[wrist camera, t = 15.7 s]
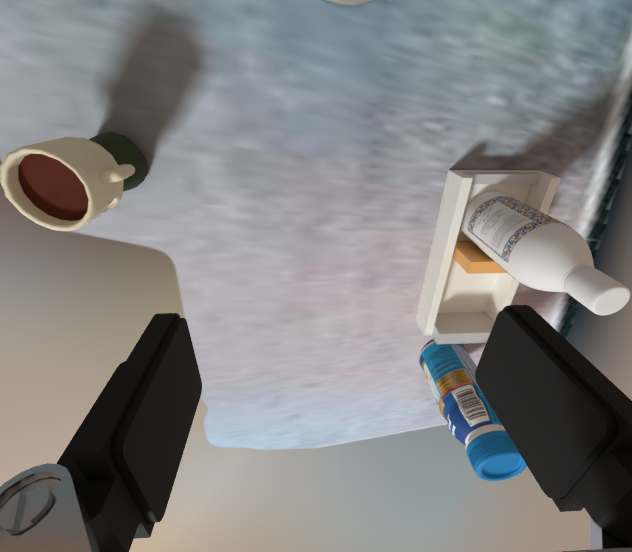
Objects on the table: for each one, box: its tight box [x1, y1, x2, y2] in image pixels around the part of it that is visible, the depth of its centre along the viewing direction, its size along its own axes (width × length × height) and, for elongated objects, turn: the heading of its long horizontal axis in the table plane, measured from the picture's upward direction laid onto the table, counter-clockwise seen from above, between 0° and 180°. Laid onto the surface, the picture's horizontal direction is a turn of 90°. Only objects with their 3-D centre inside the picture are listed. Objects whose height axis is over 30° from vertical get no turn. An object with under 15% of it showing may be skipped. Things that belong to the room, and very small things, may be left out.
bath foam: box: [461, 192, 630, 315], centre depth 34 cm, size 7×7×20 cm
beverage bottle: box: [419, 341, 527, 481], centre depth 48 cm, size 8×8×20 cm
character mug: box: [0, 132, 147, 231], centre depth 32 cm, size 11×7×13 cm, turn 99°
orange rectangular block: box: [452, 241, 507, 274], centre depth 42 cm, size 2×9×6 cm, turn 89°
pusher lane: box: [416, 170, 561, 344], centre depth 44 cm, size 24×12×6 cm, turn 179°
